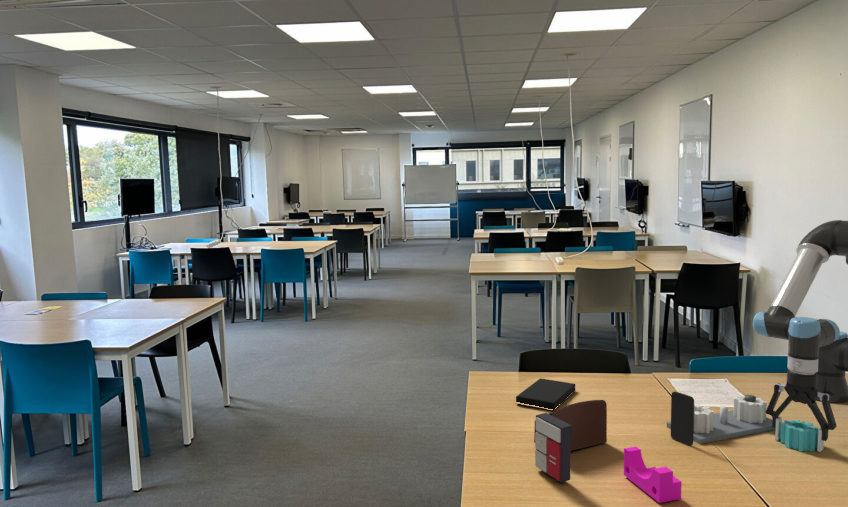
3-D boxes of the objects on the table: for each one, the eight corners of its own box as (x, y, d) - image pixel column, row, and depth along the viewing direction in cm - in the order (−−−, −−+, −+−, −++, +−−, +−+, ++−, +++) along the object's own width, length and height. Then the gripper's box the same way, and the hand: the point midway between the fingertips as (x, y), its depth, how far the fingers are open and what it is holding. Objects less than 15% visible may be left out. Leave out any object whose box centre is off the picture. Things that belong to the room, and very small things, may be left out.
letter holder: (607, 442, 180) (607, 397, 179) (553, 456, 172) (553, 409, 171) (585, 430, 189) (585, 387, 188) (533, 443, 181) (533, 398, 180)
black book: (516, 404, 215) (515, 396, 214) (539, 385, 234) (539, 378, 234) (553, 411, 207) (553, 402, 207) (575, 391, 226) (575, 383, 226)
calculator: (533, 467, 165) (533, 415, 164) (545, 463, 167) (545, 412, 166) (559, 484, 156) (559, 428, 154) (572, 480, 158) (572, 425, 156)
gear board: (744, 412, 201) (745, 387, 200) (781, 428, 187) (782, 401, 186) (666, 426, 190) (667, 400, 190) (699, 444, 177) (700, 416, 176)
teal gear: (796, 436, 181) (797, 417, 180) (825, 448, 172) (826, 428, 172) (773, 441, 178) (774, 421, 177) (801, 453, 169) (802, 433, 169)
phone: (670, 438, 182) (671, 390, 180) (671, 437, 182) (672, 390, 181) (691, 447, 176) (693, 397, 174) (693, 446, 176) (695, 397, 174)
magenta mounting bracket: (681, 498, 147) (681, 469, 146) (659, 502, 146) (659, 473, 145) (643, 471, 162) (644, 445, 161) (623, 475, 160) (624, 448, 159)
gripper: (754, 365, 179) (752, 436, 181) (845, 383, 162) (840, 461, 164) (764, 360, 184) (761, 429, 186) (853, 377, 167) (848, 453, 169)
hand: (798, 444), depth 175 cm, fingers open, 10 cm apart
